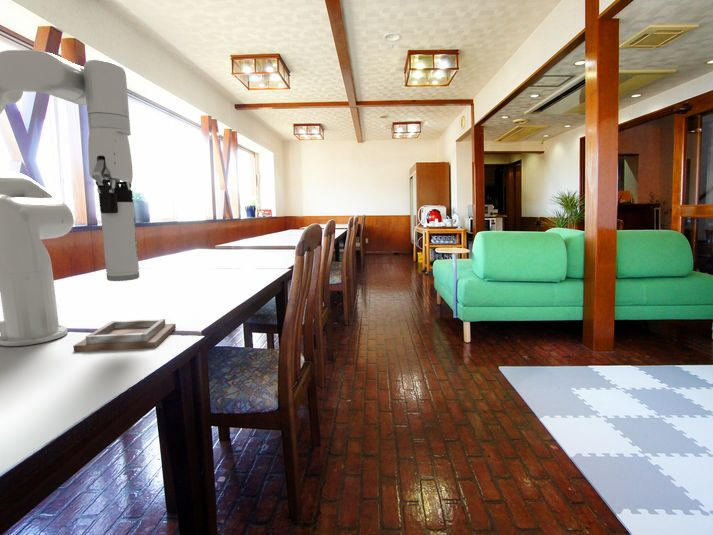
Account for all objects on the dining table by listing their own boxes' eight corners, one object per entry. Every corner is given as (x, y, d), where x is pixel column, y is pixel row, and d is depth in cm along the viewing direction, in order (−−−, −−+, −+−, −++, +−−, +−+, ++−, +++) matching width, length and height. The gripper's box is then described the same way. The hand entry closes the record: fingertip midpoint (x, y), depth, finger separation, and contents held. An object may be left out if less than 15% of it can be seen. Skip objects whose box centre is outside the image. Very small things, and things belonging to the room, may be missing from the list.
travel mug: (98, 280, 88) (89, 186, 85) (125, 275, 94) (118, 187, 91) (119, 282, 86) (110, 185, 83) (146, 277, 92) (138, 186, 89)
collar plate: (73, 351, 85) (72, 338, 84) (106, 331, 98) (104, 320, 98) (155, 347, 87) (154, 335, 86) (175, 328, 100) (175, 317, 100)
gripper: (109, 133, 94) (116, 212, 96) (66, 116, 77) (76, 213, 79) (144, 133, 95) (150, 212, 97) (109, 117, 78) (117, 213, 80)
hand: (117, 212), depth 88 cm, fingers closed on travel mug, 6 cm apart
